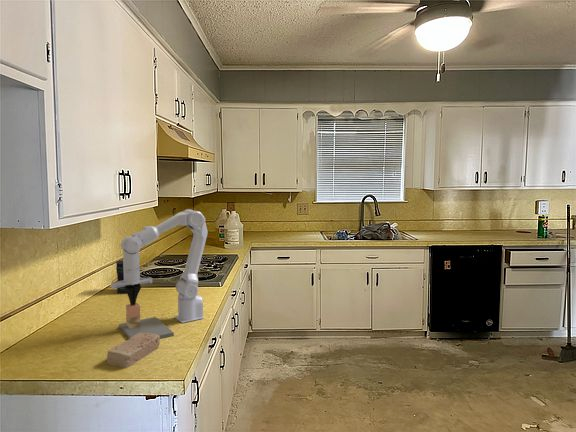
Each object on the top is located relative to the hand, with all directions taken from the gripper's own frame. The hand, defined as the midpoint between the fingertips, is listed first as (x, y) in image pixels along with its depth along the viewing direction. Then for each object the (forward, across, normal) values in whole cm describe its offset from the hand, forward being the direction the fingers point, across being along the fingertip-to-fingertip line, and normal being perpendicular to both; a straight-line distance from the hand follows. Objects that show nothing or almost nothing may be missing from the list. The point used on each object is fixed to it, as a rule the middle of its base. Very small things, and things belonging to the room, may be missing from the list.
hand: (132, 304), depth 155 cm
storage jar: (+10, +12, +53) cm, 55 cm away
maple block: (+8, 0, 0) cm, 8 cm away
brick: (+10, -6, -23) cm, 26 cm away
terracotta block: (+4, 0, 0) cm, 4 cm away
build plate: (+10, +3, -5) cm, 11 cm away
